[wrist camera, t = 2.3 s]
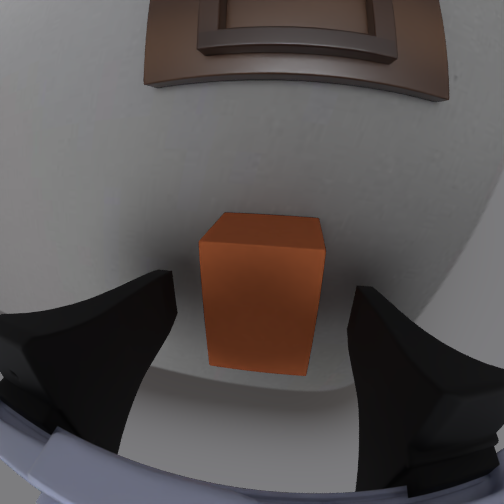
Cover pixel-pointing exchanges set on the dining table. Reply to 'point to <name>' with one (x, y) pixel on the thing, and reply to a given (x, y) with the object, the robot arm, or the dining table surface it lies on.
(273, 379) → the dining table surface
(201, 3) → the board
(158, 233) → the dining table surface
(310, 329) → the terracotta pad
